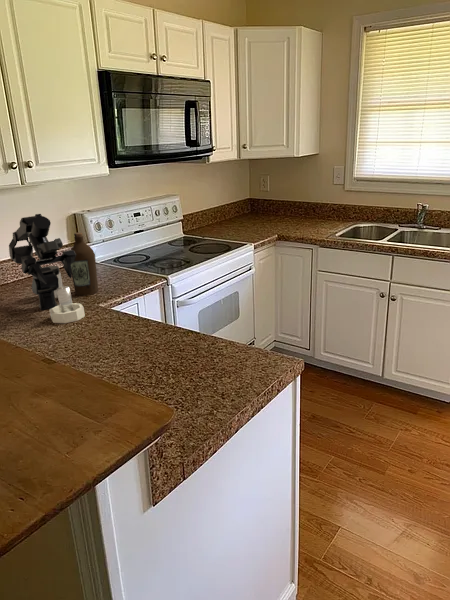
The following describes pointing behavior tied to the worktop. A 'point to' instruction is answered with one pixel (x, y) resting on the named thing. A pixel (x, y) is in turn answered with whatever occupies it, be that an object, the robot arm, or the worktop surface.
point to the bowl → (67, 314)
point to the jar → (57, 272)
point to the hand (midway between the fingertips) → (58, 280)
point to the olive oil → (84, 268)
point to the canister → (64, 299)
